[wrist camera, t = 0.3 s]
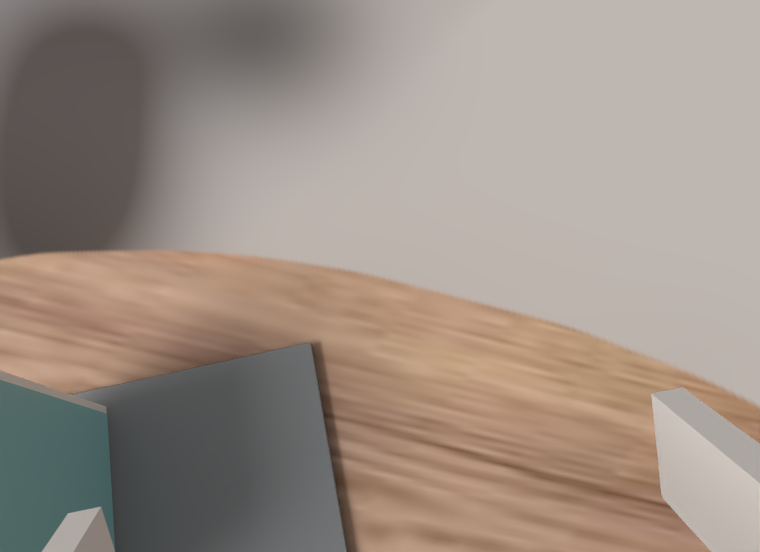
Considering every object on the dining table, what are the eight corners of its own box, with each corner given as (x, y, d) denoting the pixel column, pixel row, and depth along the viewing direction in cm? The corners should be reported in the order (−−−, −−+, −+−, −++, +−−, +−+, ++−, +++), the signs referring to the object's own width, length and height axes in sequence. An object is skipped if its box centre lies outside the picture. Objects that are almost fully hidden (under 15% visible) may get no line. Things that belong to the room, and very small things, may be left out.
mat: (355, 593, 31) (353, 595, 30) (57, 658, 31) (51, 661, 30) (311, 344, 35) (310, 342, 34) (49, 402, 35) (44, 400, 34)
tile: (124, 620, 31) (-13, 665, 21) (67, 633, 31) (-95, 683, 21) (111, 405, 34) (-12, 362, 25) (60, 416, 34) (-82, 378, 25)
